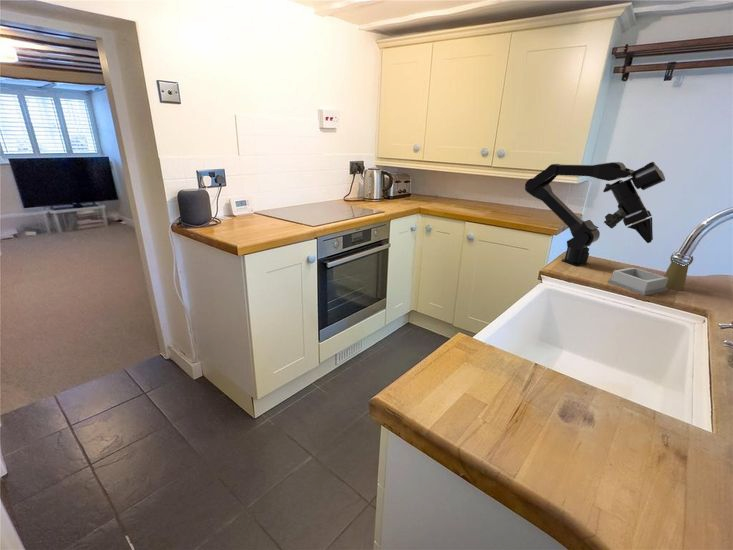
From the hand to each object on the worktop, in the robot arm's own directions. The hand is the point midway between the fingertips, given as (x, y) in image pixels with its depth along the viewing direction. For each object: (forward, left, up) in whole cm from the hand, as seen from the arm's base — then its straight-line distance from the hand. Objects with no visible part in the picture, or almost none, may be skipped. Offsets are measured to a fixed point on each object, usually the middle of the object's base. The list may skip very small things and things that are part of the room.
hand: (650, 241), depth 112 cm
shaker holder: (+4, -7, -13) cm, 15 cm away
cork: (+8, +3, -13) cm, 16 cm away
